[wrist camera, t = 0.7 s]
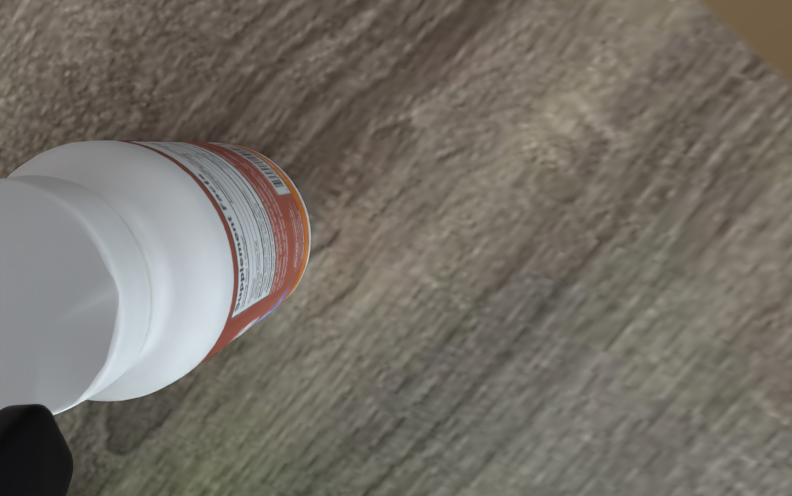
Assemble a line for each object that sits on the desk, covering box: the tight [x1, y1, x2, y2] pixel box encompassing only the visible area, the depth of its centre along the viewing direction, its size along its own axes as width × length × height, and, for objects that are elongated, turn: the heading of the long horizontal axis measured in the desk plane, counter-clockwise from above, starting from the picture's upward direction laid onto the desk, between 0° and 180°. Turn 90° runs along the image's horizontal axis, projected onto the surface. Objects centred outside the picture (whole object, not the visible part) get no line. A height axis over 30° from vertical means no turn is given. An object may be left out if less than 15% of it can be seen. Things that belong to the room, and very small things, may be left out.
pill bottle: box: [0, 140, 311, 415], centre depth 19 cm, size 6×6×11 cm
